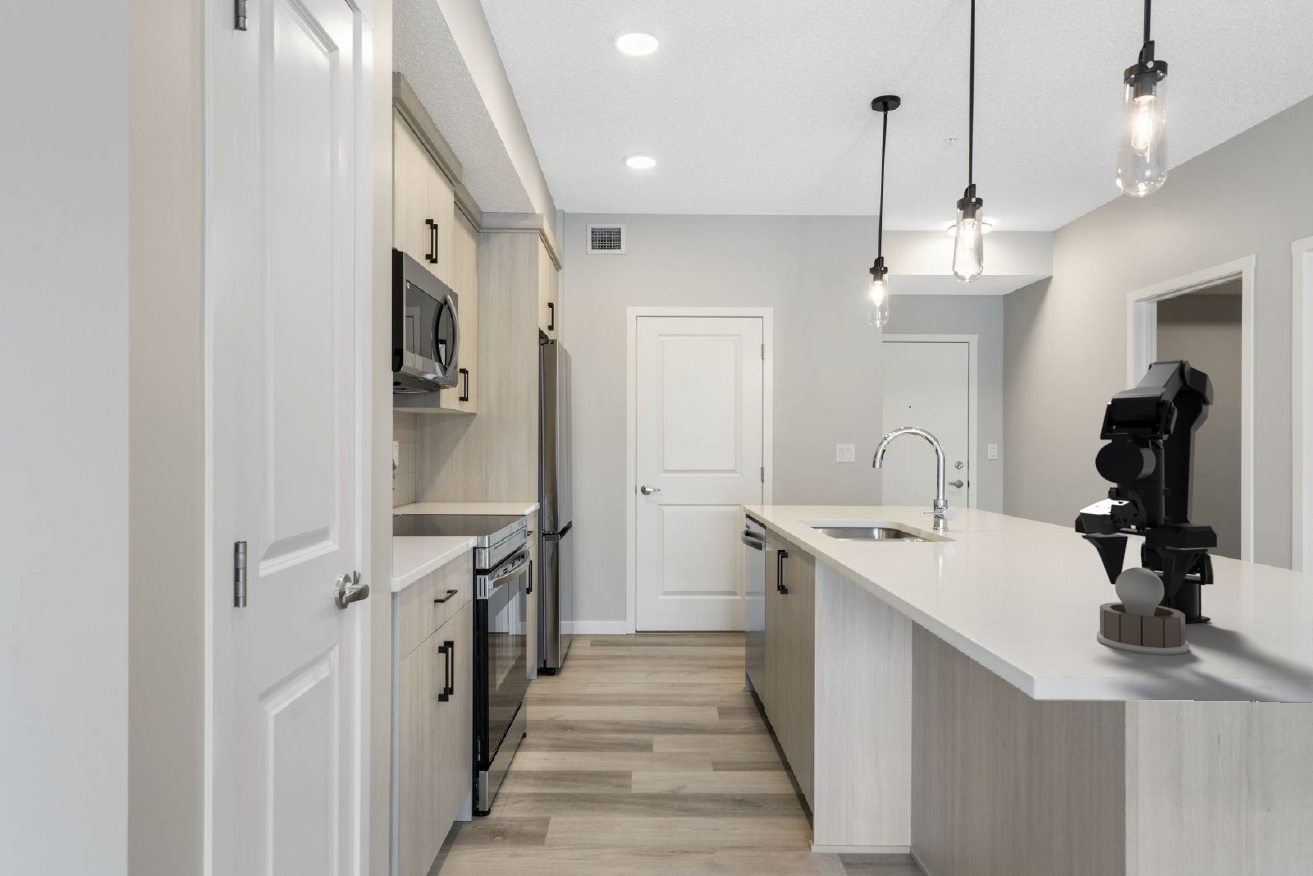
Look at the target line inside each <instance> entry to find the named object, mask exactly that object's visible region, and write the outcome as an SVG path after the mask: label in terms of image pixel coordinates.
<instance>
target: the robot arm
mask: <svg viewBox="0 0 1313 876" xmlns="http://www.w3.org/2000/svg"><path fill="white" fill-rule="evenodd" d="M1147 370H1148V371H1147V372H1146V374H1144V376H1143V377H1142V378H1141V380H1140V381H1139V382H1138V383H1137V385H1136V386H1135V387H1134V388H1131V389H1127V390H1121V391H1119V392H1117V393H1115V394H1114V395H1113V396H1112V398H1111V400H1110V401H1109V402H1108V403H1107V404H1106V408H1105V413H1104V417H1103V422H1102V427H1101V430H1100V435H1099V439H1100V441H1111V442H1108V443H1107V444H1105V445H1103V446H1102V447H1101V448H1100V449H1099V450H1098V452H1097V454H1096V456H1095V460H1094V461H1095V462H1094V464H1095V468H1096V470H1097V473H1098V474H1099V475H1100V476H1101V478H1103V479H1104V480H1106V481H1108V482H1109V483H1114V484H1116V486H1113V487H1112V486H1110V487H1109V489H1108V491H1107V498H1106V499H1103V500H1100V501H1097V502H1096V503H1092V504H1091V505H1089V506H1087V507H1084V508H1082V509H1080V510H1079V515H1078V516H1077V517H1076V518H1075V520H1074V533H1077V534H1082V535H1081V538H1082V539H1084V540H1086V541H1088V542H1089V543H1090V544H1091V545H1092V546H1093V547H1094V548H1095V549H1096V551H1097V553H1098V555H1099V558H1100V559H1101V562H1102V565H1103V567H1104V570H1105V572H1106V574H1107V578H1108V580H1109V581H1108V582H1109V584H1111V585H1114V586H1115V583H1116V580H1117V578H1118V576H1119V575H1120V574H1121V573H1122V572H1123V568H1124V567H1123V566H1124V563H1125V556H1126V550H1127V546H1128V545H1127V544H1128V540H1129V536H1127V535H1131V536H1138V537H1142V538H1143V537H1144V539H1145V540H1144V541H1142V543H1141V546H1140V561H1141V563H1140V564H1141V568H1145V569H1148V570H1150V571H1152V572H1154V573H1155V574H1156V575H1157V576H1158V577H1159V578H1160V579H1161V581H1162V583H1163V586H1164V596H1163V599H1162V601H1161V602H1160V603H1159V605H1158V606H1163V607H1167V608H1171V609H1175V610H1179V611H1180V612H1182V613H1184V614H1185V624H1186V623H1187V624H1189V623H1199V622H1200V623H1202V622H1211V621H1212V620H1211V619H1212V618H1211V617H1209V616H1204V615H1202V586H1207V585H1214V584H1215V582H1214V581H1215V580H1214V577H1215V576H1214V575H1215V574H1214V568H1213V567H1214V566H1213V562H1212V556H1211V555H1210V554H1209V553H1208V551H1209V549H1210V548H1217V547H1218V534H1217V532H1216V531H1215V529H1214V528H1213V527H1212V526H1211V525H1206V524H1197V523H1194V522H1193V502H1194V501H1193V500H1194V499H1193V496H1194V479H1195V478H1194V476H1195V451H1196V450H1195V449H1196V433H1197V432H1198V431H1199V429H1200V428H1201V427H1202V425H1204V423H1205V422H1206V421H1207V419H1208V418H1209V407H1210V406H1213V403H1214V399H1215V398H1214V395H1215V394H1214V387H1213V383H1212V381H1211V378H1210V376H1209V374H1207V373H1205V372H1203V371H1201V370H1199V369H1196V368H1195V367H1192V366H1191V364H1190V362H1189V360H1185V359H1182V358H1181V359H1180V358H1179V359H1167V360H1166V359H1165V360H1155V361H1154V362H1150V363H1149V365H1148V369H1147ZM1132 526H1133V527H1134V528H1132ZM1120 534H1126V535H1120ZM1197 574H1198V575H1197Z"/></svg>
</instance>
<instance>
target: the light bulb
mask: <svg viewBox="0 0 1313 876" xmlns="http://www.w3.org/2000/svg"><path fill="white" fill-rule="evenodd" d="M1114 589H1115V593H1116V595H1117V597H1118V599H1119V600H1120V602H1121V603H1123V605H1124V607H1125V610H1126V613H1127V614H1134V615H1141V616H1154V612H1155V609H1156V607H1157V606H1158V605H1159V603H1160V602H1161V601H1162V599H1163V596H1164V586H1163V583H1162V581H1161V579H1160V578H1159V577H1158V576H1157V575H1156V574H1155V573H1154V572H1152V571H1150V570H1148V569H1145V568H1142V567H1131V568H1127V569H1125V570H1122V573H1121V574H1120V575H1119V576H1118V578H1117V580H1116V583H1115V585H1114Z"/></svg>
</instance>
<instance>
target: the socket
mask: <svg viewBox="0 0 1313 876" xmlns="http://www.w3.org/2000/svg"><path fill="white" fill-rule="evenodd" d="M1096 640H1097V641H1098V642H1099V643H1100V644H1102V645H1105V646H1107V647H1111V648H1114V649H1117V650H1121V651H1125V652H1126V651H1127V652H1132V653H1137V654H1138V653H1139V654H1149V655H1160V656H1164V655H1165V656H1169V655H1170V656H1173V655H1175V656H1176V655H1182V654H1185V653H1188V652H1189V651H1190V644H1189V642H1188V641H1187V640H1186V623H1185V614H1184V613H1182V612H1180V611H1179V610H1175V609H1171V608H1167V607H1163V606H1157V607H1156V609H1155V612H1154V616H1141V615H1134V614H1127V613H1126V610H1125V607H1124V605H1123V603H1122V602H1121V601H1120V602H1119V601H1117V602H1106V603H1103V604H1100V605H1099V630H1098V631H1097V632H1096Z"/></svg>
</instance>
